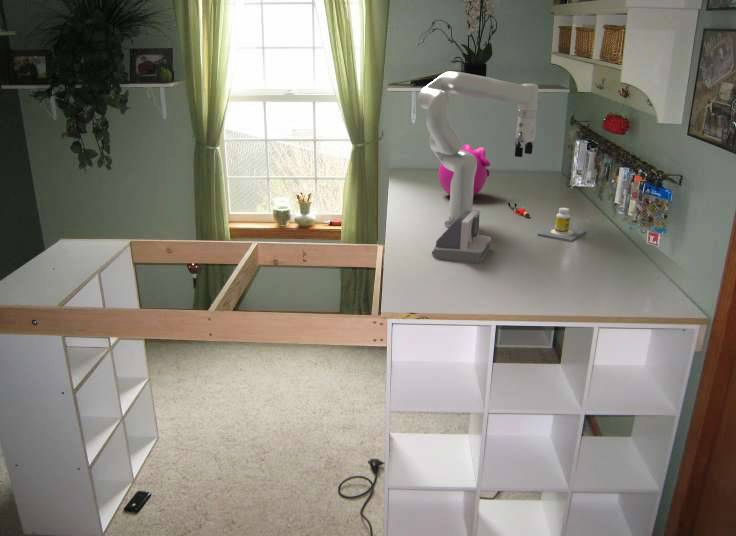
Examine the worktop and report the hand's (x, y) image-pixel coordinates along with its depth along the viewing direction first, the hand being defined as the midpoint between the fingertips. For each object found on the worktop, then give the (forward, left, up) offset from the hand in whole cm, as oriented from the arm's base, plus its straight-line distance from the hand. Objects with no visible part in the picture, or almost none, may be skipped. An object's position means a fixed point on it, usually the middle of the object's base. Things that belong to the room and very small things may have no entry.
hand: (523, 155), depth 281 cm
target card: (-10, -24, -28) cm, 38 cm away
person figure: (+11, +4, -29) cm, 31 cm away
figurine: (+21, +40, -28) cm, 53 cm away
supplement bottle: (-10, -24, -28) cm, 38 cm away
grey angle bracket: (-57, -4, -29) cm, 64 cm away
